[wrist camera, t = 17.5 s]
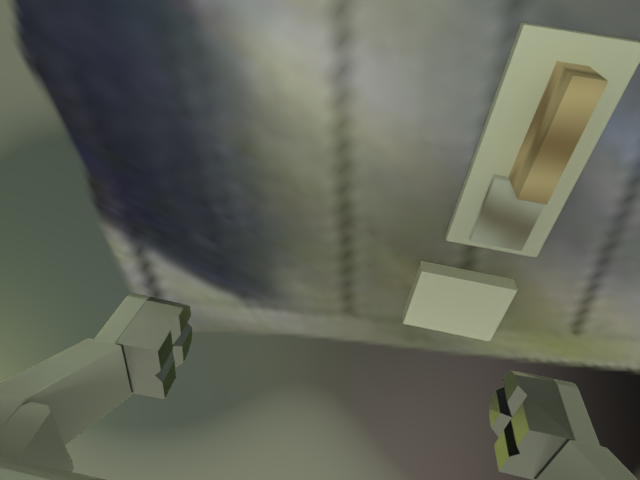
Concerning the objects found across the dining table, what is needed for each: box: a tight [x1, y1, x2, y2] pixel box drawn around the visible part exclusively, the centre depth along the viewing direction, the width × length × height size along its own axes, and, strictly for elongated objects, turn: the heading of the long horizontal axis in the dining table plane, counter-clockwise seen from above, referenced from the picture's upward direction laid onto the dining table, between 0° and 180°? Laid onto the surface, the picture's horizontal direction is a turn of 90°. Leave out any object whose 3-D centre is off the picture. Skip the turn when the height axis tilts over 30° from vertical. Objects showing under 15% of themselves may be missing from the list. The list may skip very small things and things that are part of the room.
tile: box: [403, 261, 518, 341], centre depth 49 cm, size 2×10×8 cm
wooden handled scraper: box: [469, 61, 608, 251], centre depth 37 cm, size 17×5×4 cm, turn 173°
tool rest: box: [445, 22, 640, 257], centre depth 39 cm, size 20×9×1 cm, turn 173°
